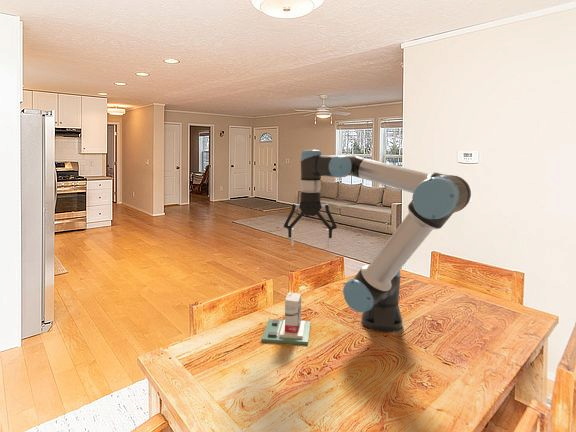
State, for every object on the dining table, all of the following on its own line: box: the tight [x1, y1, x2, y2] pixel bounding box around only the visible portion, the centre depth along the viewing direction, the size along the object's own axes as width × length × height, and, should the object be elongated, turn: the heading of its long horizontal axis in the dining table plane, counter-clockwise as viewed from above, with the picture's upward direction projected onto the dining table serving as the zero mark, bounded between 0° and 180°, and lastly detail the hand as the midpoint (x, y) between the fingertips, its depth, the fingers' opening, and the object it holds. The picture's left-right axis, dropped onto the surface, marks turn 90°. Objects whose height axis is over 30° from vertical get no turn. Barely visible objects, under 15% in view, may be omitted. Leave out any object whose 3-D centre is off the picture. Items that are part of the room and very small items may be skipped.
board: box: [260, 318, 311, 346], centre depth 138 cm, size 16×16×2 cm
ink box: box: [284, 291, 302, 333], centre depth 136 cm, size 9×5×12 cm, turn 170°
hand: (309, 246), depth 147 cm, fingers open, 13 cm apart
